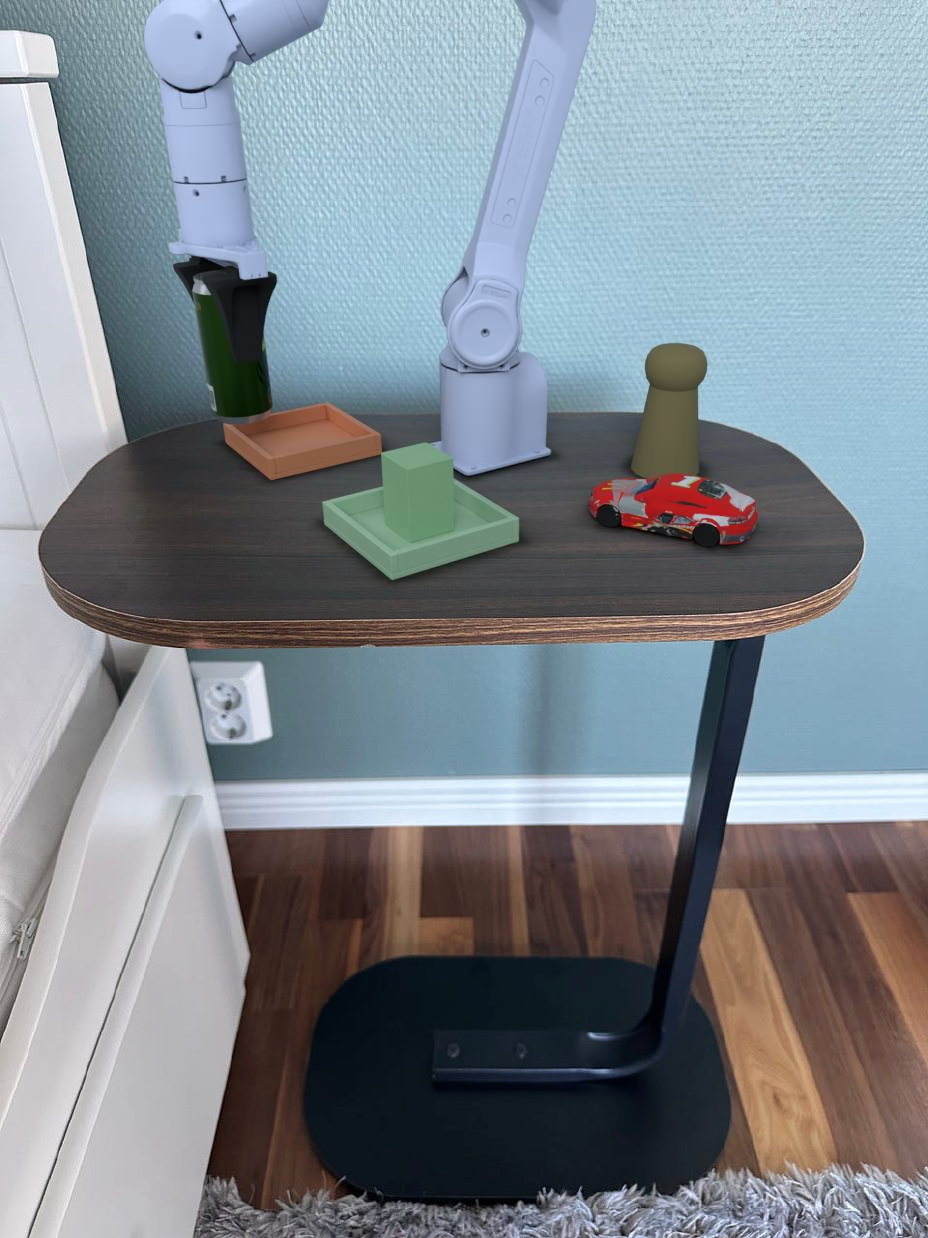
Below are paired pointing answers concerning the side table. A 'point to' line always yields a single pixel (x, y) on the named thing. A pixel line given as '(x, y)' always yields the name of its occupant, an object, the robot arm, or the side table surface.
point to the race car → (677, 508)
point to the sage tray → (396, 557)
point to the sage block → (418, 491)
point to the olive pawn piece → (670, 412)
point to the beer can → (229, 366)
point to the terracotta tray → (303, 440)
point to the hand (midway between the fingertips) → (234, 352)
